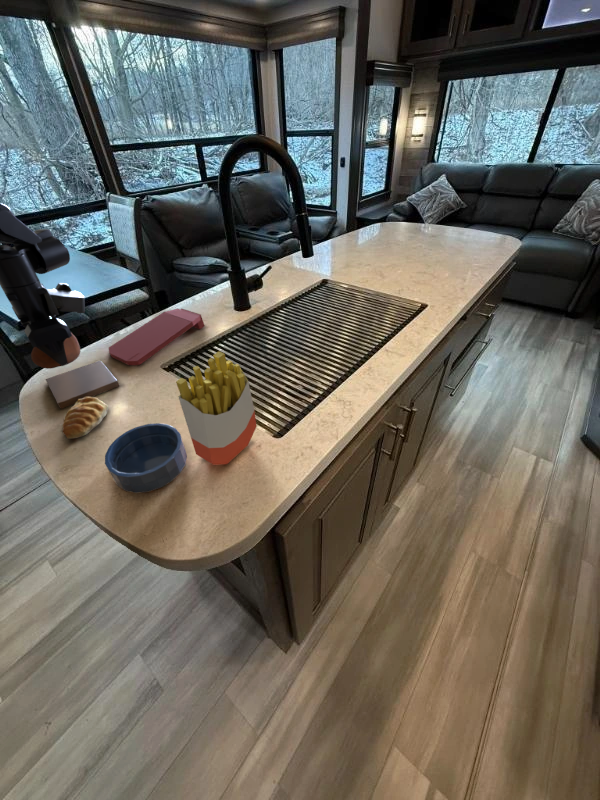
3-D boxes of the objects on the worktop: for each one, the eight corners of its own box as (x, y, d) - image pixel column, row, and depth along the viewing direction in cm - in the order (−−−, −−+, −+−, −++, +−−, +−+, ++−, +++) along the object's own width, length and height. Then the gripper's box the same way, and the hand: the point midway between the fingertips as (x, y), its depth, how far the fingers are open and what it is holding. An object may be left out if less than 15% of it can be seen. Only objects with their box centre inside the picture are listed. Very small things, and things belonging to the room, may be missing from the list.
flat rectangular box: (61, 409, 69) (57, 403, 68) (48, 384, 76) (45, 379, 76) (119, 386, 76) (117, 380, 75) (103, 365, 83) (100, 360, 82)
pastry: (92, 440, 62) (84, 425, 60) (55, 442, 62) (45, 427, 59) (111, 408, 69) (104, 393, 67) (78, 410, 69) (70, 395, 67)
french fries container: (259, 437, 62) (248, 354, 51) (217, 475, 55) (194, 389, 44) (241, 427, 64) (227, 345, 53) (198, 463, 57) (172, 378, 46)
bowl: (130, 508, 51) (119, 490, 48) (105, 464, 58) (95, 446, 55) (199, 467, 57) (194, 449, 54) (169, 431, 64) (163, 414, 61)
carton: (141, 378, 84) (209, 327, 98) (132, 363, 80) (204, 312, 94) (113, 364, 89) (181, 318, 103) (103, 350, 86) (175, 303, 99)
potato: (93, 358, 71) (81, 331, 67) (49, 379, 65) (32, 350, 61) (75, 350, 74) (62, 323, 70) (31, 369, 68) (14, 341, 64)
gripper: (83, 284, 58) (115, 361, 67) (58, 262, 69) (89, 330, 78) (7, 301, 52) (53, 382, 62) (-8, 274, 63) (34, 346, 73)
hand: (60, 357), depth 69 cm, fingers closed on potato, 7 cm apart
